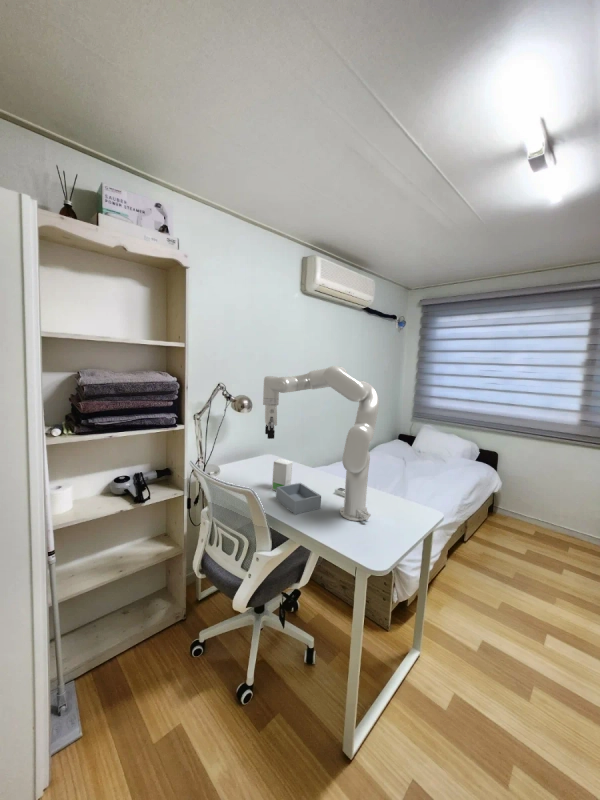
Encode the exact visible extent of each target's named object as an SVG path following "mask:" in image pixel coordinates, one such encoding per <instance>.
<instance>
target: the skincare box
mask: <svg viewBox="0 0 600 800" xmlns="http://www.w3.org/2000/svg"><path fill="white" fill-rule="evenodd" d="M292 471H293V461H291V460H287V459H283V458H278V459H276V460H273V469H272V483H271V484H272V485H271V490H273V491H275V492H276V487H280V486H285V485H291V484H292V473H293V472H292Z"/></svg>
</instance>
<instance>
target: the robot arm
mask: <svg viewBox="0 0 600 800" xmlns="http://www.w3.org/2000/svg"><path fill="white" fill-rule="evenodd" d="M325 388H331V389H333V390H334V391H335V392H337V393H338V394H339V395H341V396H343V397H344V398H345V399H347V400H348V401H350V402H354V403H358V408H357V412H356V417H355V421H354V424H353V426H352V427H350V429H349V430H348V433H347V435H346V439H345V444H344V450H343V453H342V460H341V461H342V462H341V463H342V466H343V468H344V470H346V472H345V481H344V483H345V487H344V499H343V500H344V501H343V502H344V503H343V507H341V508H340V509H339V510H340V511H339V514H340V516H342V518H344V519H346V520H349V521H353V522H363V521H368V520H369V519H370V517H371V513H369V511H368V507H367V505H366V504H367V494H368V492H367V491H368V479H369V468H370V460H371V454H370V451H369V448H370V447H369V446H370V443H371V442H372V440H373V438H374V434H375V428H376V423H377V416H378V412H379V406H380V405H379V404H380V401H379V400H380V399H379V396H378V392H377V391H376V390H375V387H373V386H372V385H371V384H370V383H368V382H367V381H363V380H357V379H355V377H354V378H353V377H352V376H351V375H349V374H348V372H347V370H346V368H345V367H342V366H339V365H332V366H329V367H327V368H321V369H316V370H315V369H314V370H311V371H309V372H307V373H304V374H301V375H295V376H293V375H292V376H271V375H269V376H264V378H263V393H262V397H263V399H262V405H264V406H265V407H264V423H265V431H264V433H265V435H267V439H269V440H270V439H271V440H272V439H275V432H276V431H275V426H277V425H278V407H277V406H279V401H280V400H279V398H280V394H281V393H282V394H286V393H287V394H288V393H294V392H300V391H306V390H307V391H308V390H317V389H325Z"/></svg>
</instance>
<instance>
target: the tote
mask: <svg viewBox="0 0 600 800" xmlns="http://www.w3.org/2000/svg"><path fill="white" fill-rule="evenodd" d="M275 492H276V493H275V500H277V501H278V503H280V504H281V503H282V504H281V505H283V507H285V508H286V509H287V508H288V509H287V510H288V511H289V512H290V513H292V512H293V513H294V514H293V513H292V514H293V515H299V514H303V513H306V512H309V511H315V510H318V509H321V507H322V495H321V494H319V493H317V492H316V491H315V490H314V489H312V488H309V487H308V486H307V485H305V484H303V483H302V482H296V483H291V485H285V486H280V487H276V491H275ZM298 513H299V514H298Z"/></svg>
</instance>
